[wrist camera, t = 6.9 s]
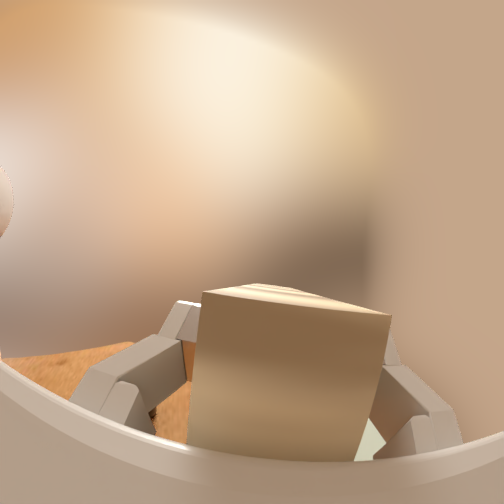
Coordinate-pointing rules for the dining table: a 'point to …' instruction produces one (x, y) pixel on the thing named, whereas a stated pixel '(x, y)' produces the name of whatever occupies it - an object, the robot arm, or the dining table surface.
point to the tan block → (284, 374)
